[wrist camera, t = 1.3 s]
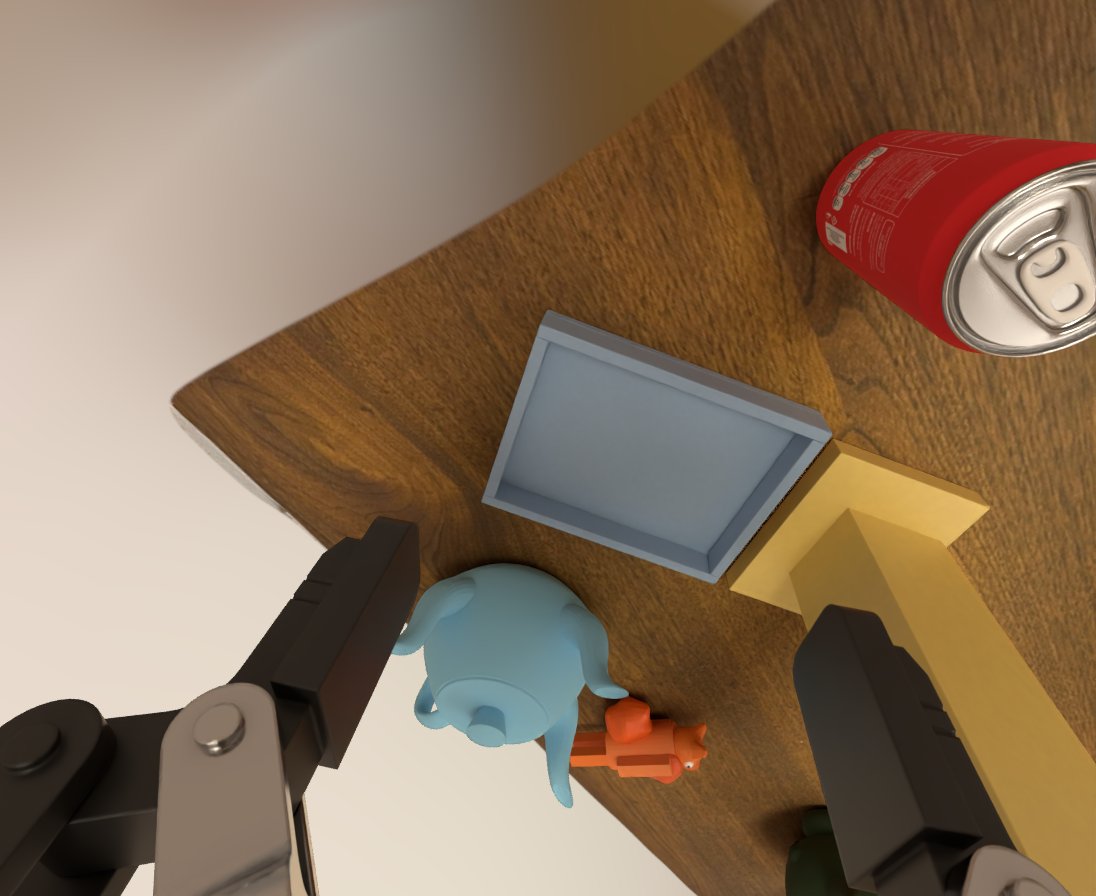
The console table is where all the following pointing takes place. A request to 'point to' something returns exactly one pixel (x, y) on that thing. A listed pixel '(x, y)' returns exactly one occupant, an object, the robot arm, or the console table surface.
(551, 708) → the teapot
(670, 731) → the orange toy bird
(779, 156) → the console table surface
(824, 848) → the green caterpillar figure
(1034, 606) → the console table surface
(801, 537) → the stand
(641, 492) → the blue tray
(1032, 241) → the beverage can
